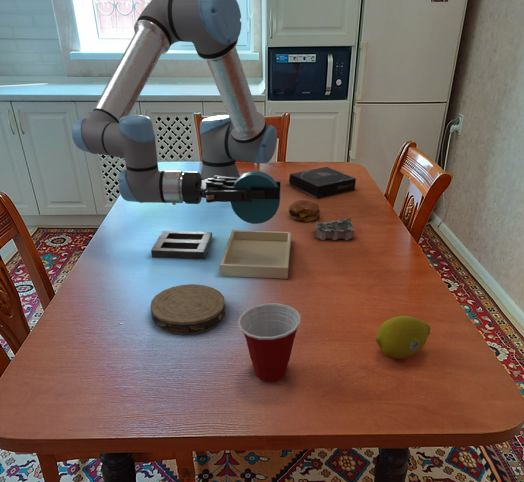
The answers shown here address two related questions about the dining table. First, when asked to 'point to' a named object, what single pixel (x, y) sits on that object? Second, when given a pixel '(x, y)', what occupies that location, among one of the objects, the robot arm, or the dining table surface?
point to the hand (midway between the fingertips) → (279, 190)
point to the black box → (322, 182)
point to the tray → (257, 254)
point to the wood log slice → (188, 309)
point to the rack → (182, 245)
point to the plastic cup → (270, 338)
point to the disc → (257, 208)
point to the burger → (304, 210)
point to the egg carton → (335, 229)
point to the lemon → (402, 336)
